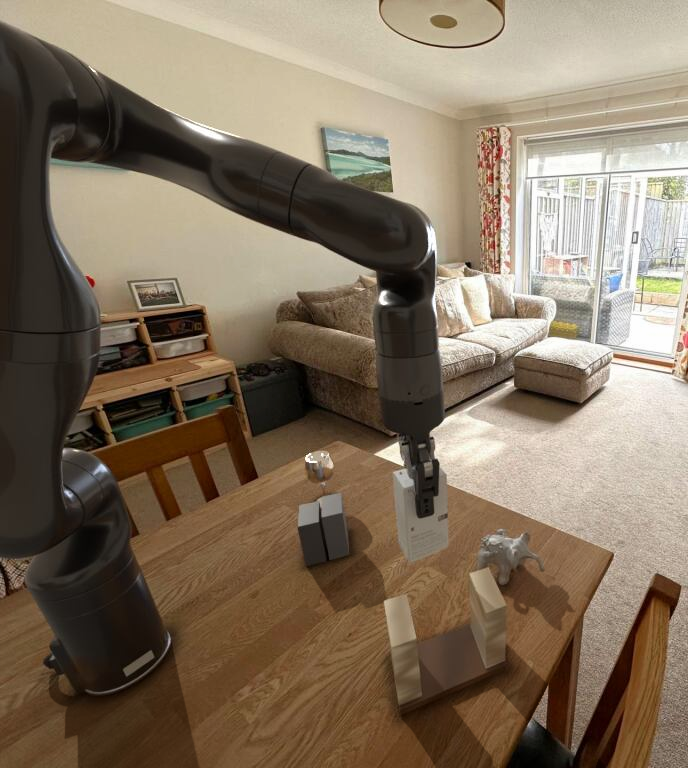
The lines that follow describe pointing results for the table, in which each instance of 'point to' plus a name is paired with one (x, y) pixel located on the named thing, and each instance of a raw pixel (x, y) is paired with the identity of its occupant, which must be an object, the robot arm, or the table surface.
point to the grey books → (323, 530)
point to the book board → (447, 647)
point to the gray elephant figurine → (505, 553)
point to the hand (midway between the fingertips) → (421, 503)
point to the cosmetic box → (420, 533)
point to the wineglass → (319, 469)
